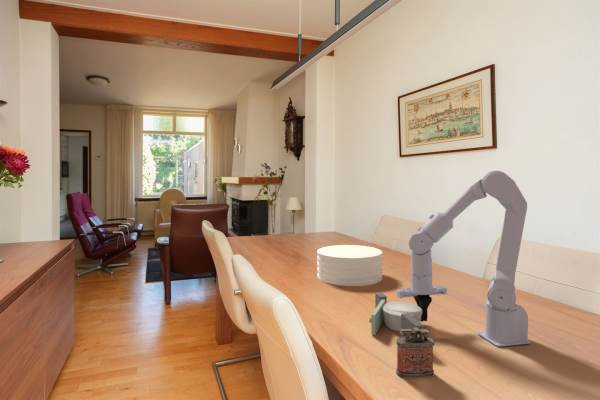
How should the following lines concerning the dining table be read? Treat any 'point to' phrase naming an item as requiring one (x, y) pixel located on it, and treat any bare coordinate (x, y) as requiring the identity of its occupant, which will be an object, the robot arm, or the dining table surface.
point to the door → (377, 318)
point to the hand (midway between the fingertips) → (422, 320)
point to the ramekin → (399, 313)
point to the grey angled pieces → (406, 318)
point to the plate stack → (349, 265)
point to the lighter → (414, 354)
